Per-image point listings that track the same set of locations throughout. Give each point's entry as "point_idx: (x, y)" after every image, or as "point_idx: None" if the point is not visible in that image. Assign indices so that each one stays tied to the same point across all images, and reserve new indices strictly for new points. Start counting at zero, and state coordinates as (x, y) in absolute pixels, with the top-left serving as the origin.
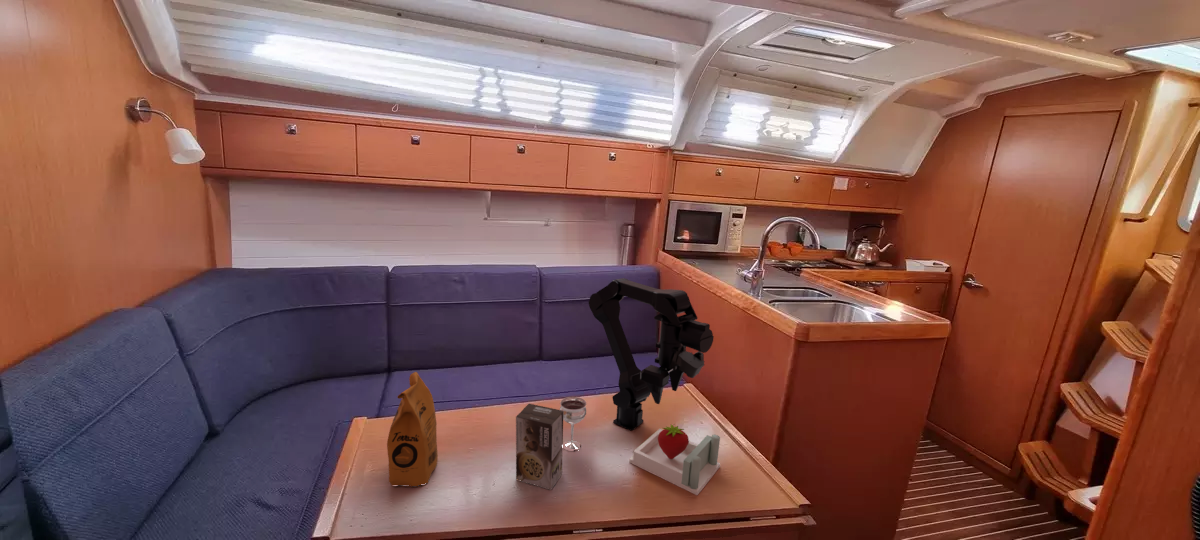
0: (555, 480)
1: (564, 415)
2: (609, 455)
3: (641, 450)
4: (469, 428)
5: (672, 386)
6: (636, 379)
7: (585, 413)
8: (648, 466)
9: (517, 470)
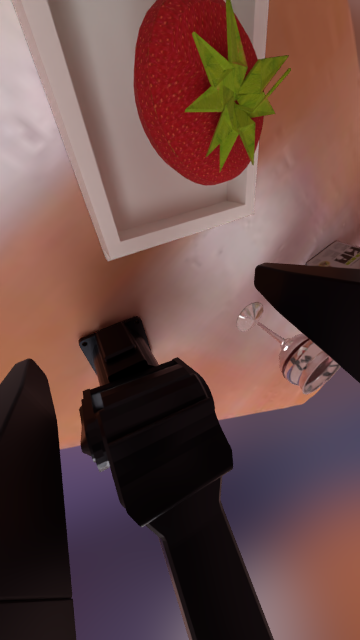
0: (332, 249)
1: None
2: (234, 263)
3: (231, 206)
4: (282, 382)
5: (48, 401)
6: (204, 455)
7: (309, 344)
8: None
9: None
